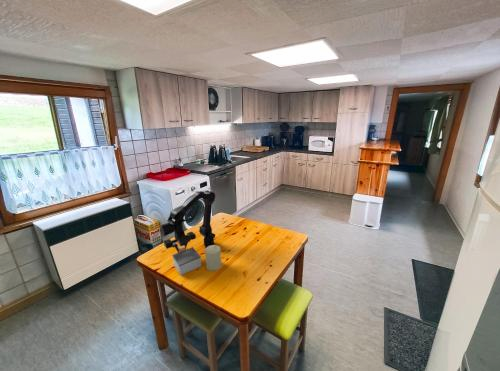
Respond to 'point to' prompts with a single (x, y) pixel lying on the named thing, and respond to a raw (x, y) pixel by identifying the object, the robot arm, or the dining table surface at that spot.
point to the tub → (187, 266)
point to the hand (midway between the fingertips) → (181, 251)
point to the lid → (185, 255)
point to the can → (213, 257)
